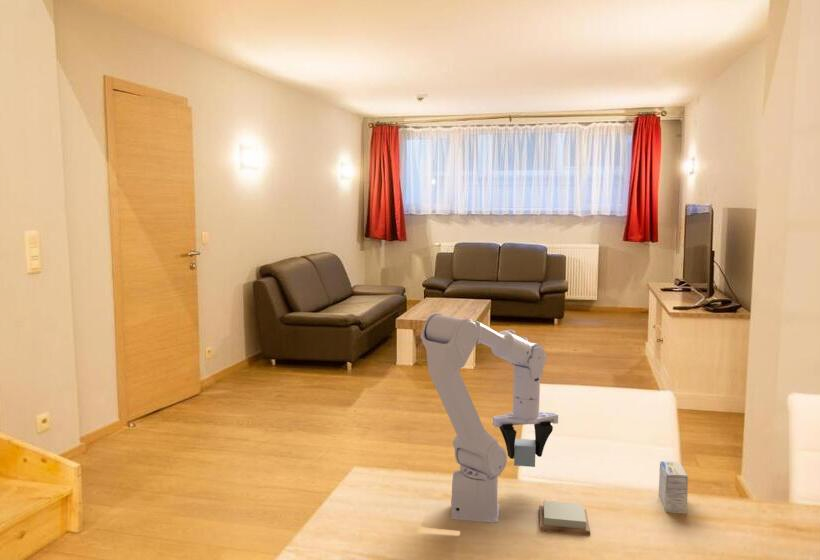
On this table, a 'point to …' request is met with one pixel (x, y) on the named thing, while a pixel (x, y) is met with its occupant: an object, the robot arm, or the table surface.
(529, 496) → the table surface
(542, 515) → the tower base
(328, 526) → the table surface
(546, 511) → the tower top
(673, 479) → the medicine box
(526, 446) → the cube
